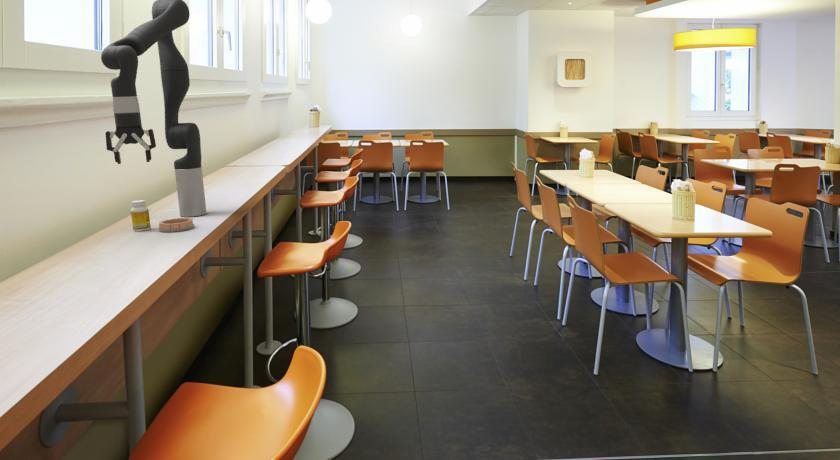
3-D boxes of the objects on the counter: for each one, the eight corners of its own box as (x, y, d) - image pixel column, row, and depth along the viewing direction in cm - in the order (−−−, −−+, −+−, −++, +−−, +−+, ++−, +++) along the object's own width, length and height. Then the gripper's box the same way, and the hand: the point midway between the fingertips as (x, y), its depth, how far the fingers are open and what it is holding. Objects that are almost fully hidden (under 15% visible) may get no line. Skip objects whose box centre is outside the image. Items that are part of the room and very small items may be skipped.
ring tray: (160, 227, 208) (159, 219, 208) (195, 224, 211) (194, 216, 211) (157, 233, 198) (156, 225, 198) (193, 230, 201) (192, 222, 201)
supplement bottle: (133, 229, 207) (130, 200, 205) (151, 227, 209) (147, 199, 207) (132, 232, 202) (128, 203, 200) (150, 230, 204) (146, 201, 202)
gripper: (152, 110, 203) (158, 160, 206) (104, 112, 199) (111, 163, 202) (149, 110, 196) (156, 162, 199) (99, 112, 192) (107, 165, 195)
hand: (133, 162), depth 201 cm, fingers open, 8 cm apart
